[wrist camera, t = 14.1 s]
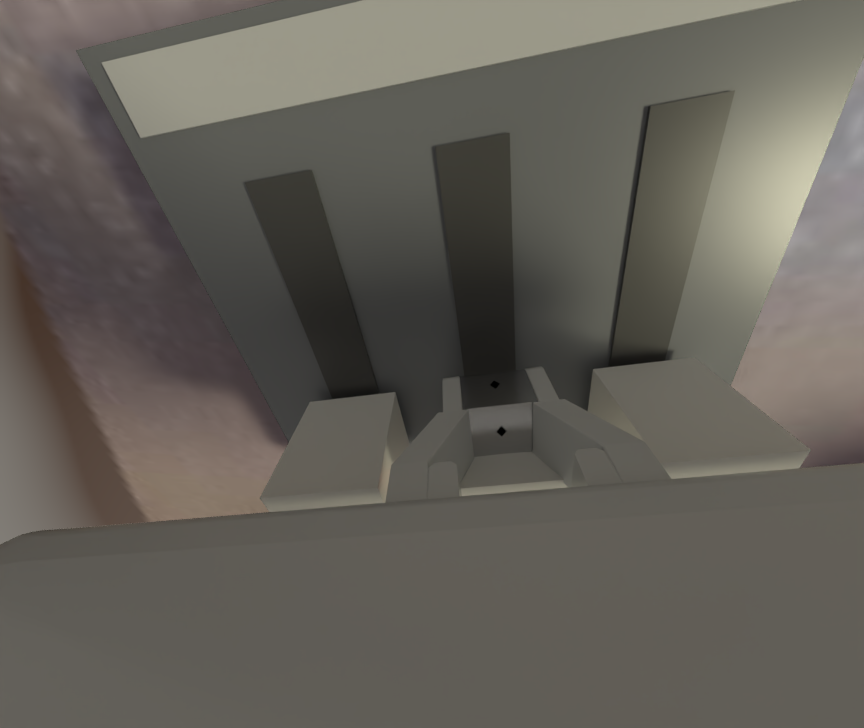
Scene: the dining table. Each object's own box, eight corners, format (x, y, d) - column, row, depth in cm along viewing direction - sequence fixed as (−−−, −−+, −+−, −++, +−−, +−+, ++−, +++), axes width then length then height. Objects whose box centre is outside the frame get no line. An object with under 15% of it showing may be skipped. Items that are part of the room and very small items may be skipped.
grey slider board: (169, 77, 10) (71, 49, 7) (793, -65, 8) (960, -169, 6) (335, 450, 18) (318, 500, 16) (658, 418, 17) (699, 467, 14)
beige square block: (446, 392, 12) (449, 489, 8) (538, 382, 11) (580, 478, 8) (456, 451, 13) (462, 552, 10) (536, 443, 13) (571, 545, 10)
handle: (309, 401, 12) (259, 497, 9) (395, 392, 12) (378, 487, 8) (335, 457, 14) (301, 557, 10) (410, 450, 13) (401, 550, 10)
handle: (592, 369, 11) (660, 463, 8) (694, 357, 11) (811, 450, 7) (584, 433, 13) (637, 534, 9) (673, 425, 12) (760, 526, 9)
